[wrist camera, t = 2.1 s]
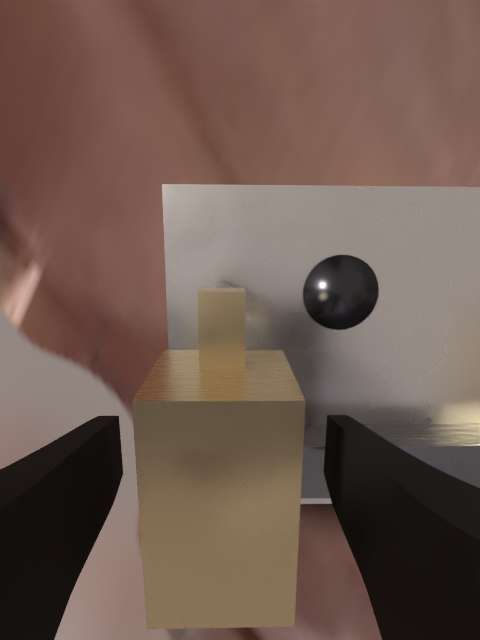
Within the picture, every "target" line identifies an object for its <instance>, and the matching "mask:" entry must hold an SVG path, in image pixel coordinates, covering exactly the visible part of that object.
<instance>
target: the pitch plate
mask: <svg viewBox="0 0 480 640" xmlns="http://www.w3.org/2000/svg"><path fill="white" fill-rule="evenodd" d="M162 195H163V220H164V244H165V269H166V294H167V319H168V344H169V350H199V333H198V290H199V289H200V287H215V286H216V285H217V284H219V283H222V282H227V283H230V284H231V285H233V286H234V288H245V291H246V307H245V350H283V352H284V354H285V356H286V359H287V361H288V363H289V365H290V367H291V370H292V372H293V374H294V376H295V378H296V381H297V383H298V385H299V387H300V390H301V392H302V394H303V396H304V398H305V401H306V403H305V423H304V443H303V462H302V482H301V502H300V504H332V502H331V498H330V495H329V491H328V488H327V484H326V480H325V476H324V472H323V471H324V456H325V441H326V426H327V415H348V416H350V417H351V418H353V419H355V420H356V421H358V422H360V423H361V424H363V425H364V426H366V427H367V428H369V429H370V430H372V431H374V432H375V433H377V434H378V435H380V436H381V437H383V438H384V439H386V440H388V441H389V442H391V443H392V444H394V445H396V446H397V447H399V448H401V449H402V450H404V451H406V452H407V453H409V454H411V455H413V456H414V457H416V458H418V459H420V460H422V461H423V462H425V463H427V464H429V465H431V466H433V467H435V468H437V469H439V470H441V471H443V472H445V473H447V474H449V475H451V476H453V477H455V478H458V479H460V480H462V481H464V482H466V483H469V484H471V485H473V486H476V487H478V488H480V187H409V186H302V185H194V184H162Z"/></svg>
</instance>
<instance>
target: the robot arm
mask: <svg viewBox="0 0 480 640" xmlns="http://www.w3.org/2000/svg"><path fill="white" fill-rule="evenodd" d="M323 472H324V476H325V480H326V484H327V488H328V491H329V495H330V498H331V502H332V504H333V507H334V510H335V512H336V514H337V517H338V519H339V522H340V524H341V527H342V529H343V532H344V534H345V536H346V539H347V541H348V544H349V546H350V548H351V551H352V553H353V556H354V558H355V560H356V563H357V565H358V568H359V570H360V573H361V575H362V578H363V581H364V583H365V586H366V589H367V591H368V595H369V598H370V601H371V604H372V607H373V611H374V614H375V617H376V620H377V624H378V627H379V630H380V633H381V637H382V640H480V488H478V487H476V486H473V485H471V484H469V483H466V482H464V481H462V480H460V479H458V478H455V477H453V476H451V475H449V474H447V473H445V472H443V471H441V470H439V469H437V468H435V467H433V466H431V465H429V464H427V463H425V462H423V461H422V460H420V459H418V458H416V457H414V456H413V455H411V454H409V453H407V452H406V451H404V450H402V449H401V448H399V447H397V446H396V445H394V444H392V443H391V442H389V441H388V440H386V439H384V438H383V437H381V436H380V435H378V434H377V433H375V432H374V431H372V430H370V429H369V428H367V427H366V426H364V425H363V424H361V423H360V422H358V421H356V420H355V419H353V418H351V417H350V416H348V415H327V426H326V441H325V456H324V471H323ZM122 475H123V466H122V454H121V441H120V428H119V416H98V417H96V418H93V419H92V420H90V421H88V422H86V423H84V424H82V425H81V426H79V427H77V428H75V429H74V430H72V431H70V432H69V433H67V434H65V435H63V436H62V437H60V438H58V439H57V440H55V441H53V442H52V443H50V444H48V445H46V446H44V447H43V448H41V449H39V450H37V451H35V452H33V453H31V454H30V455H28V456H26V457H24V458H22V459H20V460H18V461H16V462H15V463H13V464H11V465H9V466H7V467H5V468H2V469H0V640H54V638H55V636H56V633H57V630H58V627H59V625H60V622H61V619H62V617H63V614H64V611H65V609H66V606H67V603H68V600H69V598H70V595H71V593H72V591H73V588H74V586H75V584H76V581H77V579H78V577H79V575H80V573H81V571H82V568H83V566H84V564H85V562H86V560H87V558H88V556H89V554H90V552H91V550H92V547H93V545H94V543H95V541H96V539H97V537H98V535H99V533H100V530H101V529H102V527H103V525H104V522H105V520H106V518H107V516H108V514H109V512H110V510H111V507H112V505H113V503H114V500H115V497H116V494H117V491H118V488H119V485H120V482H121V478H122Z"/></svg>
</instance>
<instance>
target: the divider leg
mask: <svg viewBox="0 0 480 640" xmlns="http://www.w3.org/2000/svg"><path fill="white" fill-rule="evenodd" d="M245 307H246V291H245V288H234V286H233V285H231V284H230V283H227V282H222V283H219V284H217V285H216V286H215V287H200V289H199V290H198V333H199V350H164V351H163V353H162V354H161V356H160V357H159V359H158V361H157V362H156V364H155V365H154V367H153V369H152V370H151V372H150V373H149V375H148V377H147V378H146V380H145V381H144V383H143V385H142V386H141V388H140V389H139V391H138V393H137V394H136V396H135V397H134V399H133V401H132V410H133V425H134V440H135V455H136V470H137V485H138V500H139V515H140V530H141V546H142V561H143V576H144V589H145V590H144V591H145V606H146V621H147V629H173V628H235V627H294V620H295V600H296V581H297V561H298V541H299V522H300V502H301V482H302V462H303V443H304V423H305V403H306V401H305V398H304V396H303V394H302V392H301V390H300V387H299V385H298V383H297V381H296V378H295V376H294V374H293V372H292V370H291V367H290V365H289V363H288V361H287V359H286V356H285V354H284V352H283V350H245Z"/></svg>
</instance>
